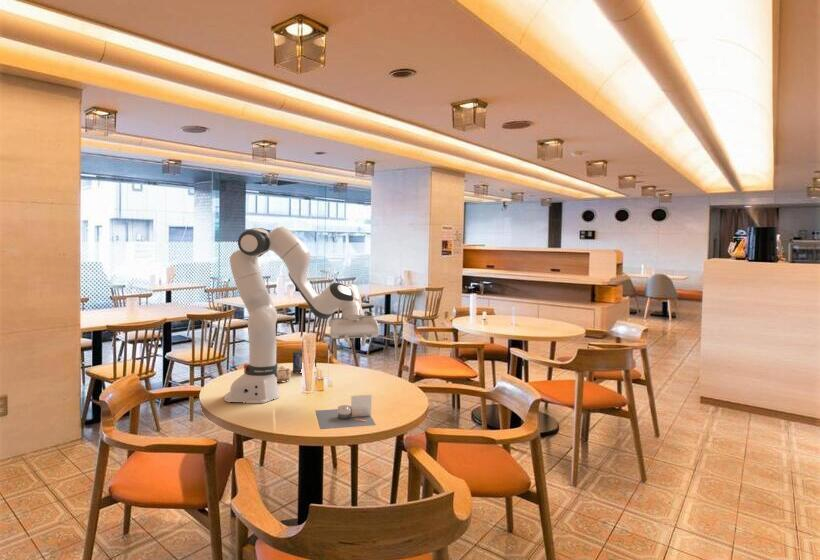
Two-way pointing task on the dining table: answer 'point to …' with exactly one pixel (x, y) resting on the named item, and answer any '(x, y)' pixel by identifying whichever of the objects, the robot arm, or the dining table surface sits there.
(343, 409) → the grey block with knob
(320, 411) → the base plate
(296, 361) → the small box
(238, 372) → the dining table surface
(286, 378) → the trinket box
